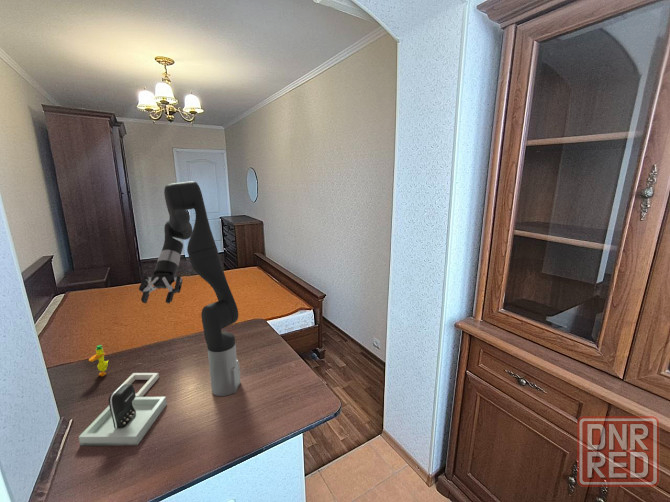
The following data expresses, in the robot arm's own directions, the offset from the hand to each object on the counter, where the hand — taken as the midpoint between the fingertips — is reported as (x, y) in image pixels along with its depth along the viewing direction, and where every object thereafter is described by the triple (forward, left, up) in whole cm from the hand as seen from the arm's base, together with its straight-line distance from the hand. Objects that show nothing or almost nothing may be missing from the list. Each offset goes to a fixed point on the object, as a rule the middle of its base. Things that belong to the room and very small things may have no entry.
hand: (155, 302), depth 111 cm
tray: (-1, +25, -29) cm, 39 cm away
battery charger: (-1, +25, -29) cm, 38 cm away
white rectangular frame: (+6, +9, -29) cm, 31 cm away
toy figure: (+24, +1, -30) cm, 38 cm away
